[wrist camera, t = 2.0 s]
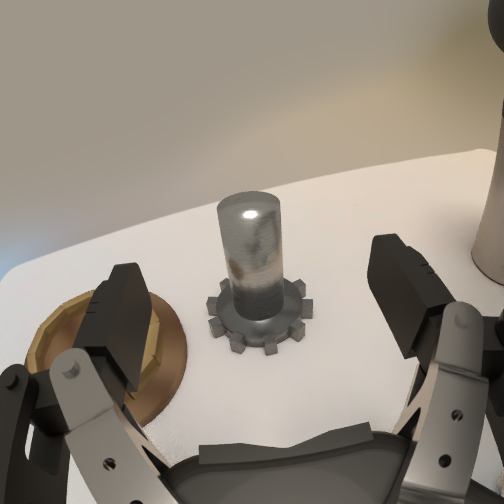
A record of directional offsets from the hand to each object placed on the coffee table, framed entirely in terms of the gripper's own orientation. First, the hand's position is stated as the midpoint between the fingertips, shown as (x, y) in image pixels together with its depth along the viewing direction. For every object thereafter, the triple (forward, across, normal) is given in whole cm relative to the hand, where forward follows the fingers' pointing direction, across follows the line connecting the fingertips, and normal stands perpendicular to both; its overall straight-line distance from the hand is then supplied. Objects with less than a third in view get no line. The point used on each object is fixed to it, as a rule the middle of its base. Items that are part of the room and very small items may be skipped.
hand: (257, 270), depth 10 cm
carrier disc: (+8, +15, +14) cm, 22 cm away
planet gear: (+12, 0, +14) cm, 18 cm away
